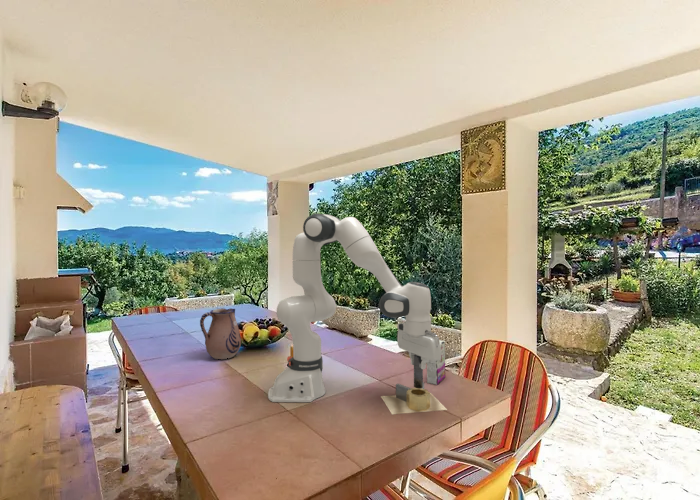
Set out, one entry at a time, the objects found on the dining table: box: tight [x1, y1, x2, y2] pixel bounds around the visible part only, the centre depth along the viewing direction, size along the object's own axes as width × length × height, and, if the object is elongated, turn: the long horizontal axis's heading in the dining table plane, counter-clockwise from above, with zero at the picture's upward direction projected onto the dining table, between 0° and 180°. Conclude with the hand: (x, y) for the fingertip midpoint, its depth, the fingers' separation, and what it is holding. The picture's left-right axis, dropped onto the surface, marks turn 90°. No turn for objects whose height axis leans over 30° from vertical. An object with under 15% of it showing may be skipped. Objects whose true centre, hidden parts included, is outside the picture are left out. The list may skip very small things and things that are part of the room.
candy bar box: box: [426, 339, 446, 386], centre depth 160 cm, size 11×5×16 cm, turn 148°
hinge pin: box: [413, 354, 424, 388], centre depth 130 cm, size 3×3×11 cm
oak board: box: [380, 392, 448, 415], centre depth 133 cm, size 20×15×2 cm
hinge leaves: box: [395, 381, 431, 411], centre depth 133 cm, size 11×13×5 cm
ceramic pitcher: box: [199, 307, 242, 360], centre depth 191 cm, size 18×21×25 cm
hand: (418, 366), depth 130 cm, fingers closed on hinge pin, 3 cm apart
